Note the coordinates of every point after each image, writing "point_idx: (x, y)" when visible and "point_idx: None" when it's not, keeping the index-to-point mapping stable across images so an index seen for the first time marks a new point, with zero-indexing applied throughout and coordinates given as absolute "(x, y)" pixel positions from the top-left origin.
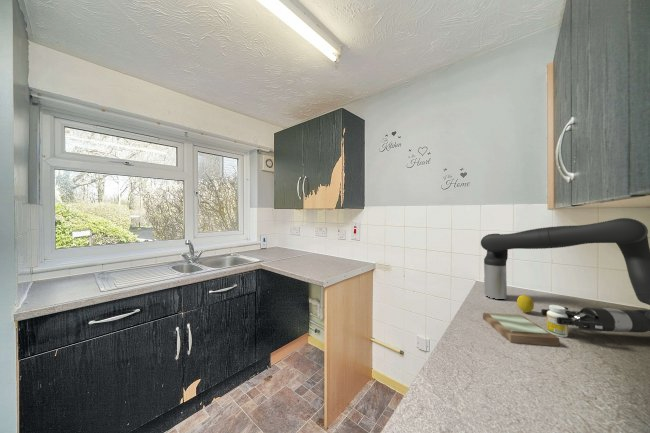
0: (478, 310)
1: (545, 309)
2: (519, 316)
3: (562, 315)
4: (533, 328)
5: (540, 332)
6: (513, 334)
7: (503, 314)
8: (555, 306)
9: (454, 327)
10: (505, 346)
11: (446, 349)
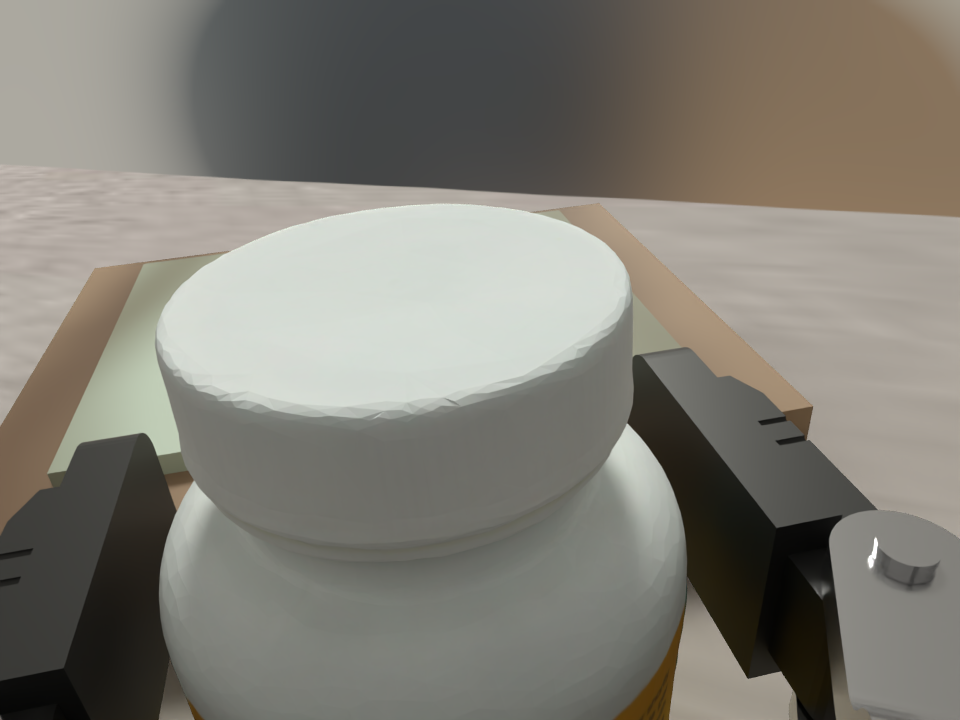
0: (838, 257)
1: (699, 382)
2: (635, 352)
3: (192, 515)
4: None
5: (87, 409)
6: (103, 280)
7: (657, 283)
8: (435, 265)
9: (336, 186)
10: (58, 307)
11: (63, 178)
